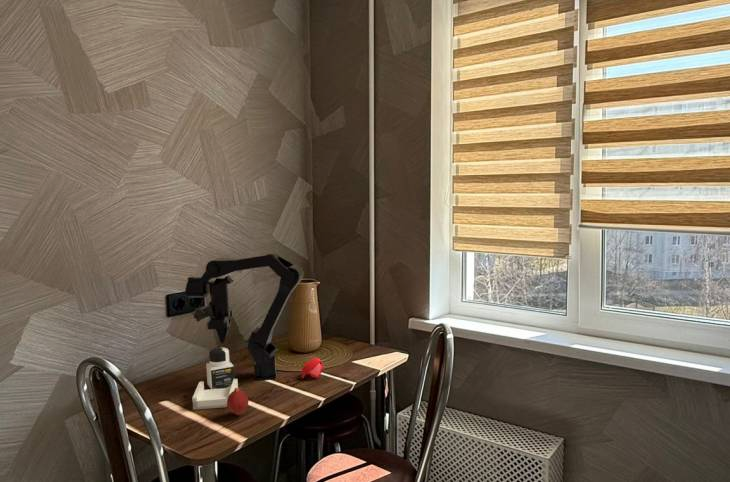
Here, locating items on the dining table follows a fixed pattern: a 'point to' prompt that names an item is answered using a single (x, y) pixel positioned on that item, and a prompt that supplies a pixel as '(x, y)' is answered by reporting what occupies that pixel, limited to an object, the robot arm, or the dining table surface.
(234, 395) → the red rounded lump
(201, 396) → the cradle
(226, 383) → the medicine bottle
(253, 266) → the robot arm
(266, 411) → the dining table surface
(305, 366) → the cap
